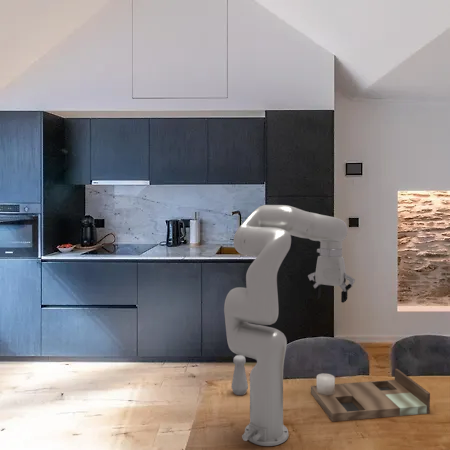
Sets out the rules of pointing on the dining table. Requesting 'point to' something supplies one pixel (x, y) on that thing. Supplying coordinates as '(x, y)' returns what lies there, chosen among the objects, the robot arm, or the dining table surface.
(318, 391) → the white cup
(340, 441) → the dining table surface
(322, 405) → the board
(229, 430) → the dining table surface
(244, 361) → the salt shaker
